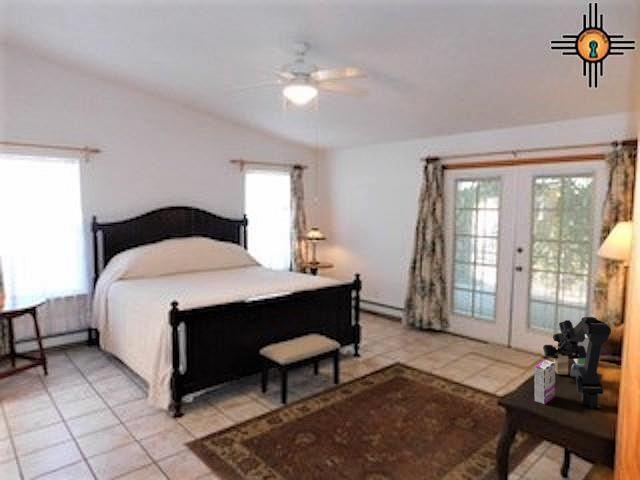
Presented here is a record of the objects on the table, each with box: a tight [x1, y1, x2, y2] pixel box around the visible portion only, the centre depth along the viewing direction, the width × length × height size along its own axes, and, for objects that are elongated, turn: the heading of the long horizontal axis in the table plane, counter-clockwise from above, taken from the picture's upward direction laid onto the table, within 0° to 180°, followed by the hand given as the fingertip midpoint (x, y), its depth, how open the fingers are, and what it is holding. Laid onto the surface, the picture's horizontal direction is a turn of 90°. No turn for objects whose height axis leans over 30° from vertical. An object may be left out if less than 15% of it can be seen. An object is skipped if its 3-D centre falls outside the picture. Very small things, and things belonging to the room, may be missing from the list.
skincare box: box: [573, 334, 589, 366], centre depth 232 cm, size 8×7×16 cm
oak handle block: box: [553, 345, 569, 375], centre depth 219 cm, size 5×5×13 cm
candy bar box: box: [533, 359, 556, 405], centre depth 193 cm, size 11×5×16 cm, turn 129°
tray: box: [569, 363, 584, 378], centre depth 218 cm, size 10×10×3 cm
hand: (559, 358), depth 220 cm, fingers closed on oak handle block, 5 cm apart
